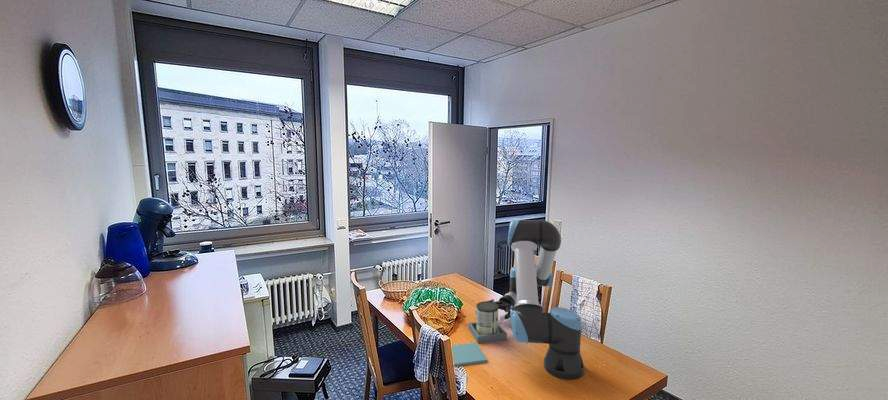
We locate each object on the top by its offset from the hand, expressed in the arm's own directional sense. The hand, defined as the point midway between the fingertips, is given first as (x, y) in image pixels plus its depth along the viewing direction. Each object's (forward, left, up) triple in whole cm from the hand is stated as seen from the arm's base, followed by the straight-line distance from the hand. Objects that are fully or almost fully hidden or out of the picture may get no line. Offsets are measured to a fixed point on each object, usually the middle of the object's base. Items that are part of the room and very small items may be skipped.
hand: (488, 315), depth 169 cm
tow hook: (+22, +13, -9) cm, 27 cm away
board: (-16, +16, -8) cm, 24 cm away
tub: (-1, +1, -8) cm, 8 cm away
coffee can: (-1, +1, -9) cm, 9 cm away
